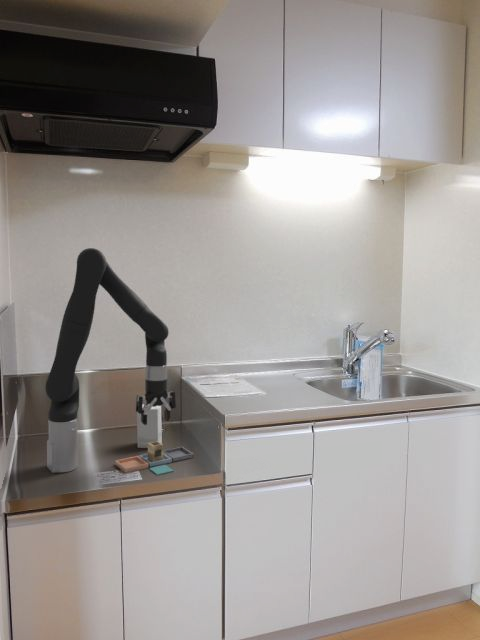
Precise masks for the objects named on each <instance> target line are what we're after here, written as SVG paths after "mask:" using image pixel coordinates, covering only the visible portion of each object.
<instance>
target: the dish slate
mask: <svg viewBox="0 0 480 640" xmlns="http://www.w3.org/2000/svg"><path fill="white" fill-rule="evenodd" d="M138 456H139V457H140V458H142V459H143V460H144V461H146V462H147V463H148V464H149V466H148V468H152V467H157V466H161V465H167V464H172V463H173V462H172V458H170V457H169V456H167V455H166V454H164V453H163V460H160V461H156V462H151V461H149V460H148V453H145V454H140V455H138Z"/></svg>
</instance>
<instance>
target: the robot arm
mask: <svg viewBox="0 0 480 640" xmlns="http://www.w3.org/2000/svg"><path fill="white" fill-rule="evenodd" d="M100 286H101V288H103V290H105V291H106V292H107V293H108V294H109V296H110V297H111V299H113V300H114V302H115V303H116V305H117V306H119V308H120V309H121V310H122V311H123V313H124V314H126V315H127V316H128V318H130V319H131V321H132V322H134V323H135V324H137V325H138V327H140V329H141V330H142V331H143V332H144V338H145V346H146V357H145V358H146V359H145V375H144V376H145V377H144V381H145V386H144V387H145V388H144V389H145V394H144V395H139V394H138V395H136V403H135V412H136V413H137V412H138V413H139V414H141V422H142V423H143V424H144V425H147V412H148V411H149V410H150V409H151V407H152V406H153V407H156V406H161V407H162V406H163V408H164V419H163V420H164V421H166V422H169V420H171V410H173V409H175V408H176V392H175V391H172V390H169V391H167V390H168V366H167V365H168V364H167V361H168V359H167V358H168V356H167V349H166V347H165V340H166V339H167V338H168V336H169V327H168V326H167V323H165V322H164V321H163V320H162V319H160V317H159V316H157V314H155V313H154V312H153V311H152V310H151V309H150V307H149V306H148V305H147V304H146V303H145V302H144V300H142V298H140V297H139V296H138V294H136V292H135V291H133V289H131V288H130V286H128V285H127V284H126V283H125V282H124V280H122V279H121V278H120V276H118V275H117V273H116V272H115V271H114V270H113V268H112V267H111V265H110V264H109V262H108V261H107V259H106V257H105V255H104V254H103V253H102V251H101V250H99V249H97V248H95V247H94V248H93V247H89V248H85V249H83V250H82V251H81V252H79V254H78V256H77V258H76V271H75V280H74V284H73V289H72V291H71V295H70V297H69V300H68V302H67V305H66V306H65V307H66V308H65V310H64V314H63V316H62V317H63V318H62V322H61V325H60V331H59V335H58V338H57V344H56V349H55V356H54V360H53V363H52V366H51V369H50V371H49V373H48V377H47V380H46V381H45V387H44V389H45V394H46V395H47V397H48V399H50V401H51V402H50V405H49V406H50V407H49V410H48V440H46V466H47V469H48V470H49V471H50V472H51V473H52V474H56V473H60V474H61V473H67V472H71V471H74V470H76V469H77V468H78V467H79V466H78V461H79V459H78V455H79V454H78V411H79V408H80V407H79V406H80V381H79V378H78V375H77V374H76V370H77V365H78V363H79V359H80V357H81V355H82V353H83V351H84V349H85V346H86V345H87V342H88V340H89V337H90V336H89V335H90V332H91V329H92V324H93V319H94V315H95V309H96V308H95V307H96V299H97V294H98V289H99V287H100ZM167 398H168V401H169V403H168V402H167V401H166V399H167ZM144 401H145V403H144ZM142 404H144V407H143V408H142Z"/></svg>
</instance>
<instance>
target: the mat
mask: <svg viewBox="0 0 480 640" xmlns="http://www.w3.org/2000/svg"><path fill="white" fill-rule="evenodd" d="M148 469H149V471H151V472H152V473H153V474H155V475H156V476H160V475H164V474H165V473H166V474H170V473H173V472H174V470H173V469H172V468H170V467H169V466H168V465H167V464H163V465H159V466H155V467H148Z"/></svg>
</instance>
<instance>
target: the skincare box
mask: <svg viewBox="0 0 480 640" xmlns="http://www.w3.org/2000/svg"><path fill="white" fill-rule="evenodd" d="M144 404H145V403H143V404H142V408H143V407H144ZM136 423H137V424H136V425H137V428H136V429H137V432H136V434H137V435H136V438H137V448H139V449H148V443H151V442H156V441H159V442H160V443H162V444H163V438H162V437H163V435H162V434H163V433H162V432H163V428H162V426H163V425H162V405H161V406H156V407H153V406H152V407H151V409H150V410H149V411H148V412H147V425H144V424H143V423H142V422H141V414H139V413H138V412H136Z"/></svg>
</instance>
